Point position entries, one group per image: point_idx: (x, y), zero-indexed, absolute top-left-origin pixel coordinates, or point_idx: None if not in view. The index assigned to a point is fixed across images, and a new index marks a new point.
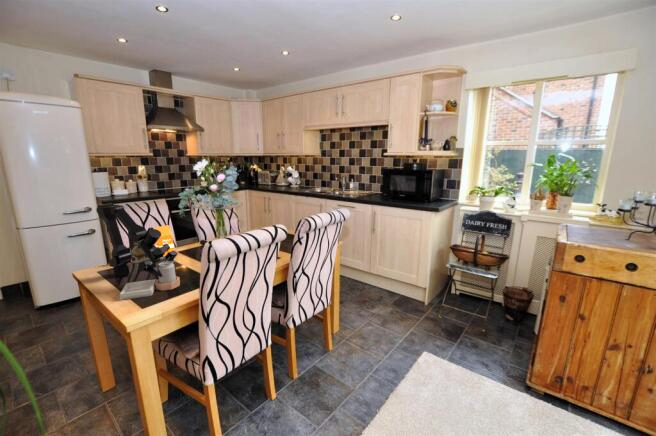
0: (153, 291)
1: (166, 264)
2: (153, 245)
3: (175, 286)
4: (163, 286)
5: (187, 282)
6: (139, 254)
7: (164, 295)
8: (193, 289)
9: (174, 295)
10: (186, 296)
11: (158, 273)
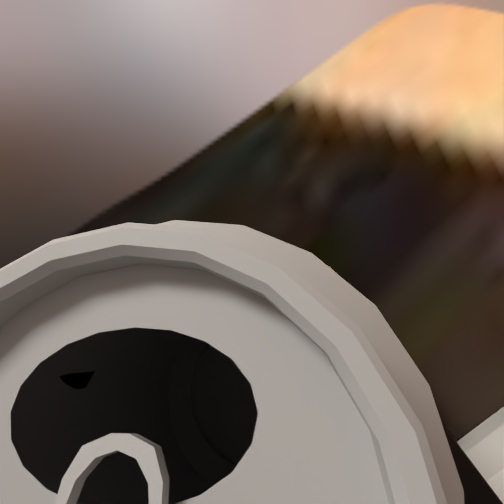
0: (460, 444)
1: (143, 442)
2: None
3: None
4: None
5: None
6: None
7: (467, 251)
8: (274, 102)
9: (427, 163)
10: (403, 66)
11: (475, 483)
